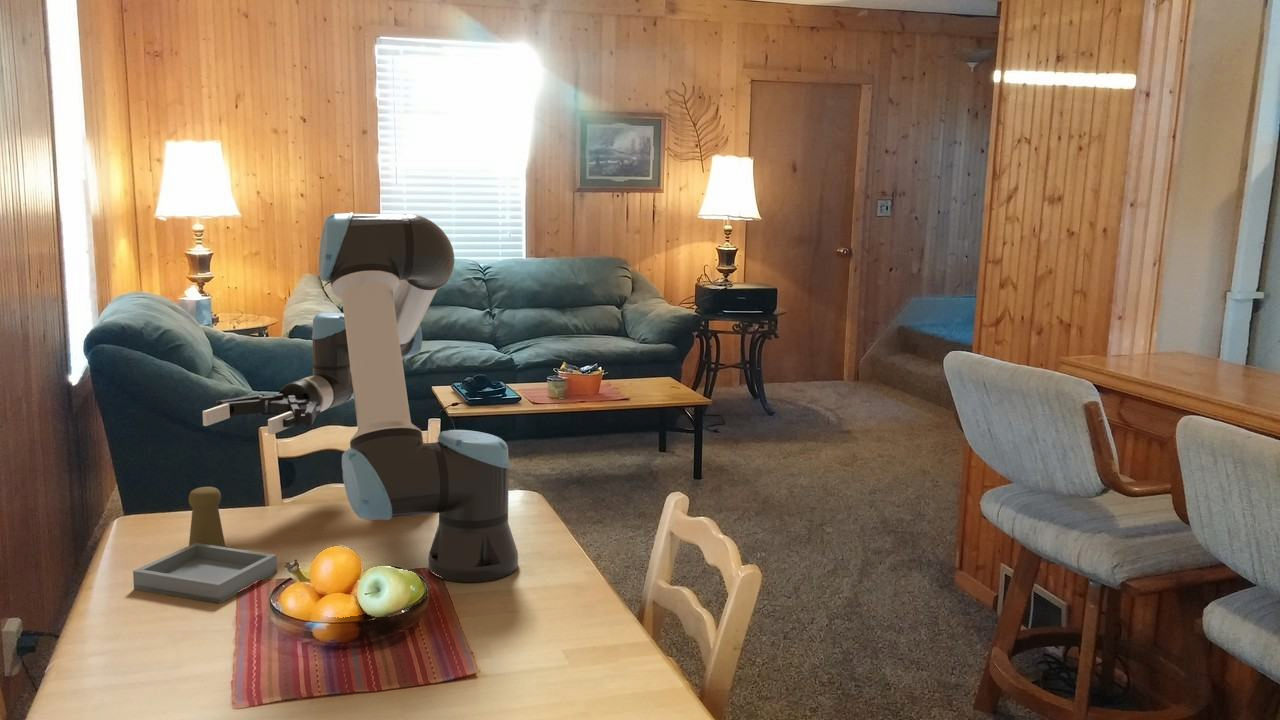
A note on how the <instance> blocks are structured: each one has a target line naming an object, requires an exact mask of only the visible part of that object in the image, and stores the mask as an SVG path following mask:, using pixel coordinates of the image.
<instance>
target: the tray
mask: <svg viewBox="0 0 1280 720" xmlns="http://www.w3.org/2000/svg"><path fill="white" fill-rule="evenodd" d="M277 557H278V556H277V554H275V553H274V554H272V553H268V552H267V553H266V552H258V551H252V550H248V549H247V550H246V549H239V548H232V547H226V546H225V547H220V546H214V545H207V544H200V543H194V544H192V545H190V546H189V545H187V546H185V547H183V548H181V549H179V550H176V551H175V552H174V551H173V552H172V553H170V554H167V555H165V556H164V557H160V558H159V559H157V560H155V561H152V562H150V563H148V564H146V565H142V566H141V567H139V568H136V569H135V570H133V571H132V574H133V575H132V576H133V577H132V578H133V590H136V591H143V592H149V593H155V594H160V595H166V596H173V597H177V598H185V599H188V600H189V599H191V600H196V601H201V602H208V603H214V604H221V603H224V602H225V601H226V600H228V599H231V598H232V597H234V596H236V595H238V594H239V593H238V591H240V590H241V589H243V588H245V587H248V586H249V585H251V584H253V583H254V582H256V581H258V580H262V581H264V580H265V579H267V578H269V577H271V576H273V575H274V574H276V573H277V572H278V569H277V568H278V566H277V565H278V563H277ZM237 593H238V594H237Z"/></svg>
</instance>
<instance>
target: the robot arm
mask: <svg viewBox="0 0 1280 720" xmlns="http://www.w3.org/2000/svg"><path fill="white" fill-rule="evenodd" d="M323 222H324V223H323V224H322V225H323V226H322V231H321V236H320V244H319V251H318V252H319V255H318V274H319V278H320V280H321V281H324V282H327V283H328V282H330V286H331V287H330V288H331V289H330V290H331V292H332V294H333V295H334V296H335V297H337V298H339V299H340V300H341V301H342V311H343V312H321V313H318V314H316V315H314V317H313V319H312V334H311V339H312V375H309V376H307V377H304V378H301V379H299V380H295V381H293V382H289V383H286V384H285V385H284V386H283V387H282V388H281V389H280V391H279V393H276V394H273V395H266V396H265V394H264V393H257V394H254V395H249V396H242V397H236V398H234V397H233V398H229V399H221V400H216V406H214V407H211V408H209V409H206V410H202V426H204V427H208V426H210V425H214V424H216V423H219V422H222V421H227V420H228V419H230V418H231V417H232V416H244V415H255V414H260V415H262V416H269V415H275V416H274V417H271V418H269V419H267V433H268V434H267V435H272V436H273V435H275V434H276V433H280V432H282V431H284V430H287V429H289V428H292V427H294V426H296V427H300V426H302V424H304V425H305V426H306V427H311V426H313V423H314V421H315V420H316V417H317V416H318V415H320V414H321V413H322V412H323V411H326V410H329V409H331V408H334V407H337V406H341V405H344V404H346V403H347V402H349V401H351V400H354V408H355V416H356V423H357V424H356V426H357V430H356V433H354V435H353V436H352V437H351V438H350V439H349V445H350V446H349V447H350V448H348V449H346V450H345V451H343V453H342V455H341V470H342V480H343V485H344V489H345V494H346V497H347V499H348V502H349V504H350V507H351V509H352V512H353V513H354V514H355V515H356V516H357V517H358V518H360V519H362V520H363V521H375V520H378V521H379V520H384V521H389V520H391V519H396V518H397V519H398V518H405V517H412V516H420V515H432V514H437V513H438V525H437V529H436V531H435V534H434V538H433V540H432V542H431V543H432V544H431V547H430V550H429V553H428V568H427V569H428V570H429V569H430V570H431V571H432V572H434V573H435V574H437V575H439V576H441V577H442V578H443V579H442V578H441V579H442V580H446V581H451V582H457V583H483V582H489V581H495V580H499V579H502V578H505V577H507V576H509V575H508V574H510V573H511V572H513V571H514V570H515V569H516V568H517V569H518V567H519V553H518V549H517V545H516V542H515V540H514V537H513V534H512V530H511V528H510V525H509V482H510V481H509V480H510V477H509V476H510V475H509V474H510V467H511V465H510V460H509V447H508V444H507V442H506V441H505V440H503V438H501V437H499V436H497V435H494V434H490V433H486V432H481V431H477V430H476V431H475V430H469V429H468V430H467V429H448V430H443V431H441V432H440V433H438V434H439V435H438V437H437V441H436V442H424V439H423V431H422V430H421V429H420V428H419V427H418V426H416V425H415V424H413V423H412V419H411V414H410V406H409V399H408V392H407V384H406V378H405V369H404V364H403V358H405V357H410V356H411V357H412V356H417V355H418V354H420V353H421V351H422V345H423V333H422V328H421V323H422V320H423V319H424V317H425V315H426V313H427V312H428V309H429V308H430V305H431V303H432V301H433V299H434V297H435V295H436V293H437V291H438V290H439V289H441V288H443V287H444V286H445V285H446V284H447V283H448V281H449V280H450V277H451V276H452V273H453V270H454V267H455V252H454V249H453V245H452V243H451V241H450V239H449V237H448V235H447V234H446V233H445V232H444V230H443V229H442V228H441V227H440V226H439V225H437V224H436V223H435V222H434V221H432V220H430V219H428V218H426V217H424V216H420V215H417V214H411V213H410V214H409V213H404V214H403V213H401V214H396V213H395V214H393V213H392V214H391V213H354V212H352V211H351V212H347V213H332V214H330V215H329V216H327V217H326V219H325V220H324V221H323ZM266 405H267V410H266ZM517 566H518V567H517ZM517 569H516V570H517ZM516 570H515V571H516ZM515 571H514V572H515ZM514 572H513V573H514ZM511 574H512V573H511ZM511 574H510V575H511ZM506 575H507V576H506ZM504 576H505V577H504ZM501 577H502V578H501ZM498 578H499V579H498Z"/></svg>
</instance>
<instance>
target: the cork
mask: <svg viewBox="0 0 1280 720" xmlns="http://www.w3.org/2000/svg"><path fill="white" fill-rule="evenodd" d="M221 501H222V494H221V491H220V490H219V489H218V488H216V487H215V486H214V487H213V486H201V487H197V488H194V489H192V490H191V491H190V493H189V495H188V503H189V504H188V505H189V506H190V507H191V508H192V511H191V521H190V529H189V530H190V531H189V540H188V546H190V545H192V544H194V543H200V544H207V545H214V546H220V547H226V544H225V543H226V542H225V538H224V537H225V536H224V531H223V527H222V521H221V517H220V515H221V514H220V511H219V505H220V503H221Z"/></svg>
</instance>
